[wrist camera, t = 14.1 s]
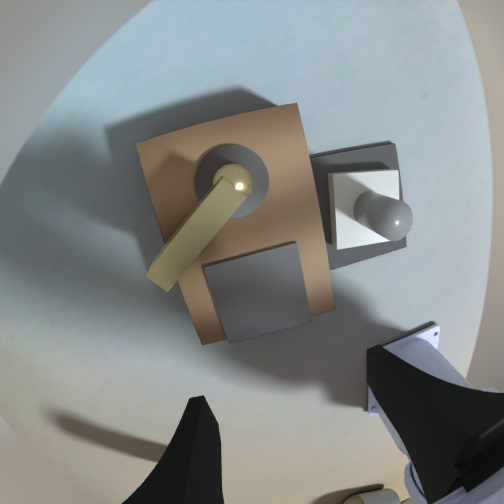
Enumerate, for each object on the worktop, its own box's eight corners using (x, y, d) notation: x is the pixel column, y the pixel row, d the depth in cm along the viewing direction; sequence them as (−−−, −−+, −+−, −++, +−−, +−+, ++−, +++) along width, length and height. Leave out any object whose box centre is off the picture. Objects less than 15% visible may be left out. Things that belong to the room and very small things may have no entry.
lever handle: (229, 155, 16) (232, 156, 13) (258, 180, 16) (266, 185, 14) (150, 254, 17) (140, 272, 14) (177, 275, 17) (172, 295, 15)
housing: (321, 292, 23) (336, 313, 20) (204, 324, 22) (203, 349, 19) (284, 109, 18) (297, 102, 15) (147, 144, 18) (134, 143, 15)
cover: (392, 235, 22) (426, 255, 17) (331, 245, 21) (359, 268, 17) (391, 168, 20) (428, 175, 16) (327, 173, 20) (357, 180, 15)
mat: (404, 245, 22) (406, 246, 22) (324, 269, 22) (325, 271, 22) (393, 143, 20) (395, 143, 19) (304, 159, 19) (305, 159, 19)
